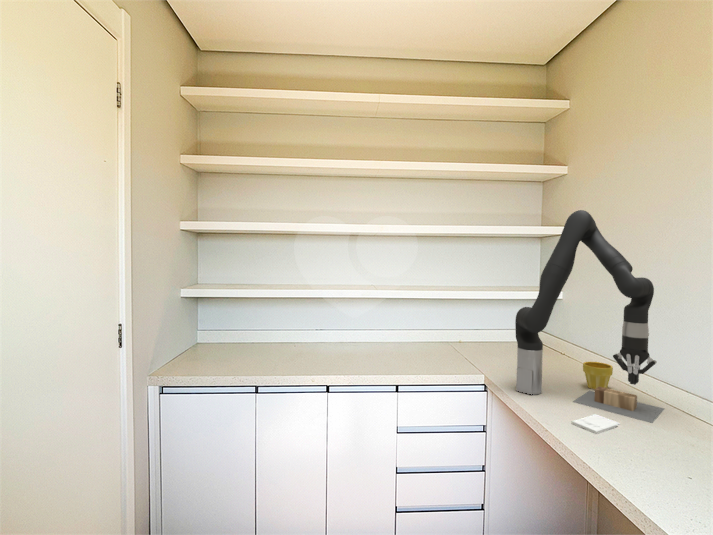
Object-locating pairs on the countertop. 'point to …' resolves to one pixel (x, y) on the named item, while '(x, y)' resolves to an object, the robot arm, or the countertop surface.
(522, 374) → the robot arm
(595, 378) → the plant pot
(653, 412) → the mat
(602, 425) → the external hard drive
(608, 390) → the block
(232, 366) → the countertop surface
